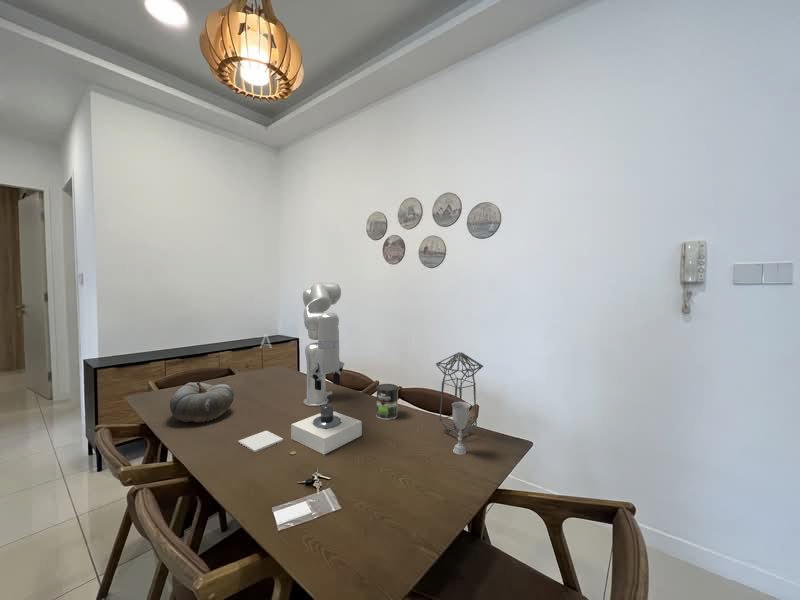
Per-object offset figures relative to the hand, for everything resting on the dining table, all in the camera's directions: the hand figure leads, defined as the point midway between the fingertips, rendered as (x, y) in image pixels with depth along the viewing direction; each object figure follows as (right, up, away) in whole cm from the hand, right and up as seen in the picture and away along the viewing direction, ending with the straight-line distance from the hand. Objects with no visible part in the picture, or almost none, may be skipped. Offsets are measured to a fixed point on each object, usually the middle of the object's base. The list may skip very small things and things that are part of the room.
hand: (327, 386), depth 136 cm
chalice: (+52, -23, -8) cm, 58 cm away
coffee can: (+23, -21, +25) cm, 40 cm away
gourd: (-62, -19, +20) cm, 68 cm away
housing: (-1, -21, +2) cm, 21 cm away
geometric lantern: (+54, -22, +8) cm, 59 cm away
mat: (-26, -21, -4) cm, 33 cm away
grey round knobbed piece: (-1, -21, +2) cm, 21 cm away
